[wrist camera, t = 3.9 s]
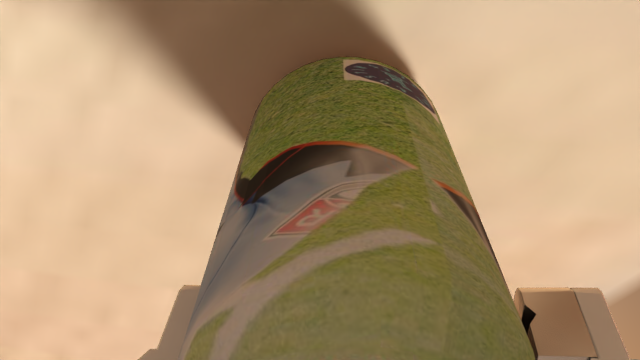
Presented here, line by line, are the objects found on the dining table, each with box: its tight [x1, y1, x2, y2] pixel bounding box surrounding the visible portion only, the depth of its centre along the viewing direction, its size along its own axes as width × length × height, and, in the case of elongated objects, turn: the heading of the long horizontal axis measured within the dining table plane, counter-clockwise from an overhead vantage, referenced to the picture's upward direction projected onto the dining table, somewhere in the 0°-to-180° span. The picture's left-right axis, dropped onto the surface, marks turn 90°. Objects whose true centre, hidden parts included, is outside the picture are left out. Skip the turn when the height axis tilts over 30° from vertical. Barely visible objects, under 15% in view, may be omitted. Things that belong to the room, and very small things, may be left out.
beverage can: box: [178, 57, 535, 360], centre depth 13 cm, size 6×7×12 cm
